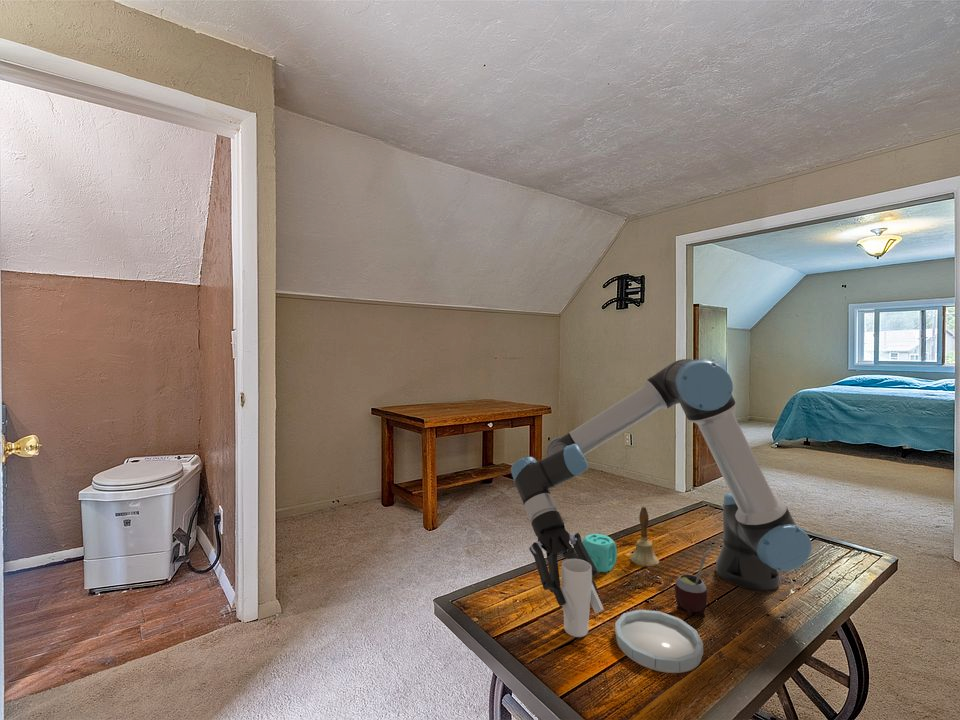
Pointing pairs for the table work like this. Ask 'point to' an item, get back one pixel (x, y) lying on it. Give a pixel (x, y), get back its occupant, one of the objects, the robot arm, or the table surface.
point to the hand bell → (644, 545)
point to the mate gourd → (692, 593)
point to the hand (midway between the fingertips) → (586, 615)
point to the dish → (659, 641)
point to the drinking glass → (577, 594)
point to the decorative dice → (601, 551)
